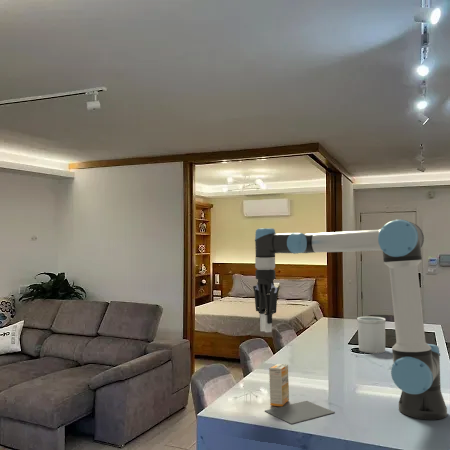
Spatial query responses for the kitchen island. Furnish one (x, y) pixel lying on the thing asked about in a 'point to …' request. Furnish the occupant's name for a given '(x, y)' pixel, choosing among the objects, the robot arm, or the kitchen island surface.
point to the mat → (299, 412)
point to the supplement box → (279, 384)
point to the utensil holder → (371, 334)
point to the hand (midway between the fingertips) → (266, 331)
